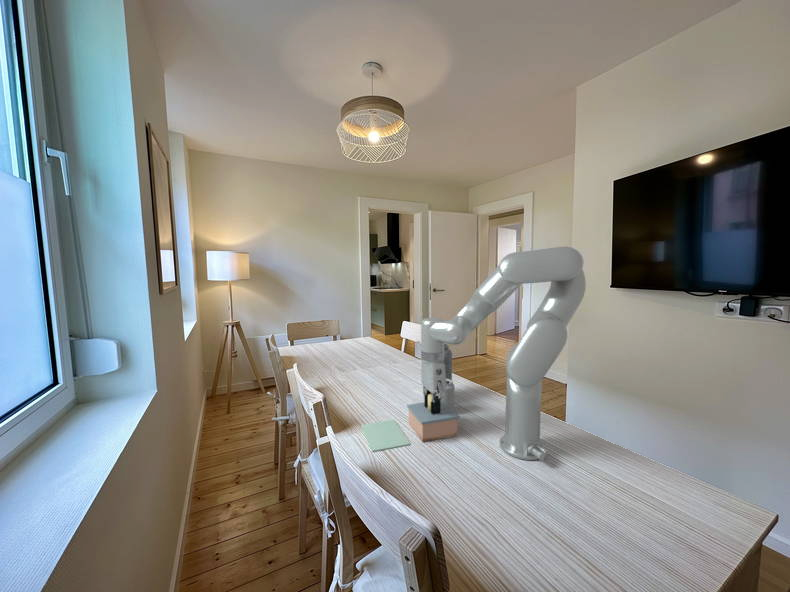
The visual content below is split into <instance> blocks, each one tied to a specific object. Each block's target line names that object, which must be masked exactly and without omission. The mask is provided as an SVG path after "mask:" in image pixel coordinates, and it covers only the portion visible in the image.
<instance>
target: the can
mask: <svg viewBox="0 0 790 592" xmlns="http://www.w3.org/2000/svg"><path fill="white" fill-rule="evenodd" d="M435 392H437V390H435ZM436 395H438V394H436ZM443 395H444V398H442V399H441V400H442V401H443V402H444V403H445V404H446V405H448V406H449V407H450V408H451V409H452V410H453V411H454V412H455V383H454V382H453V379H452V380H450V379H446V392H443Z"/></svg>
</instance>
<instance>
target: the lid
mask: <svg viewBox="0 0 790 592" xmlns="http://www.w3.org/2000/svg"><path fill="white" fill-rule="evenodd" d="M434 395H435V396H437V395H436V394H434ZM431 402H432V395H431V394H429V395H428V407H425V406H424V402H418V403H410V404H406V408H407V409H408V411H409V410H410V411H411V412H412V414H413V415H414V416H415V417H416V418H417V420H418V421H419V422H420V423H421V425H424V424H430V423H436V422H442V421H448V420H454V419H457V420H459V419H460V417H461V416H460V415H459V414H458V413H457V412H456V411H455V410H454V411H453V410H452V409H451V408H450V407H449V406H448V405H446V404H445V403H444V402H443V401H442V400H441V408H440V413H436V414H431Z"/></svg>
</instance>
